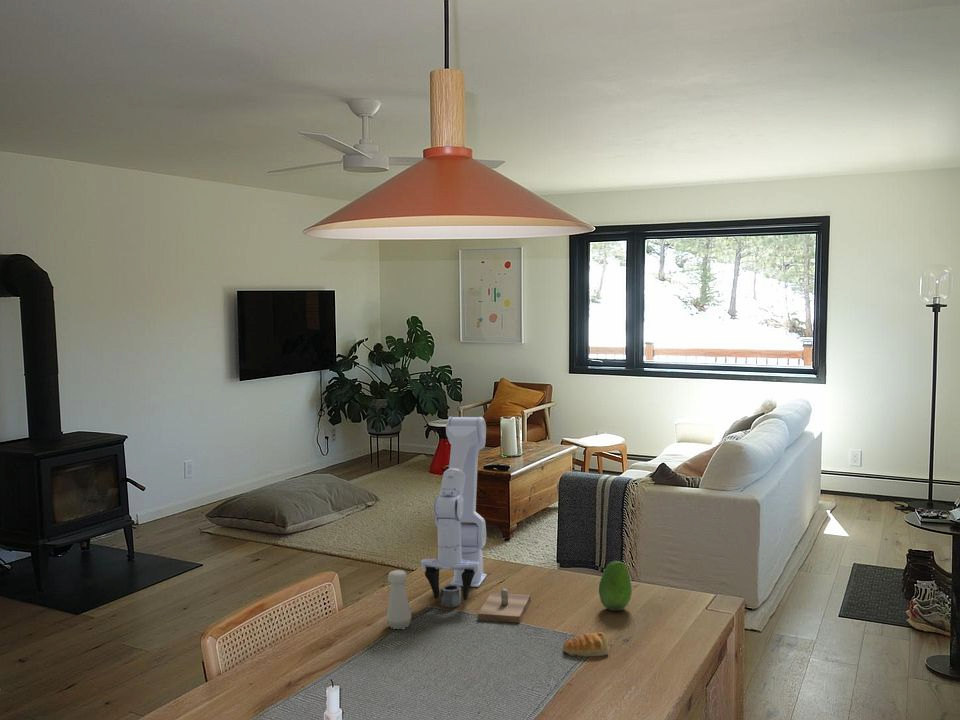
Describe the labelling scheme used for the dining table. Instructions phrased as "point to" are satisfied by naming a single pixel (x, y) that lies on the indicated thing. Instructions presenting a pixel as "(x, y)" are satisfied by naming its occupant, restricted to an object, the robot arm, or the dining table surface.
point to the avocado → (615, 586)
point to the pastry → (587, 645)
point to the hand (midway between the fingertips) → (451, 598)
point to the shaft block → (504, 607)
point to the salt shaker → (398, 601)
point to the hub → (451, 595)
